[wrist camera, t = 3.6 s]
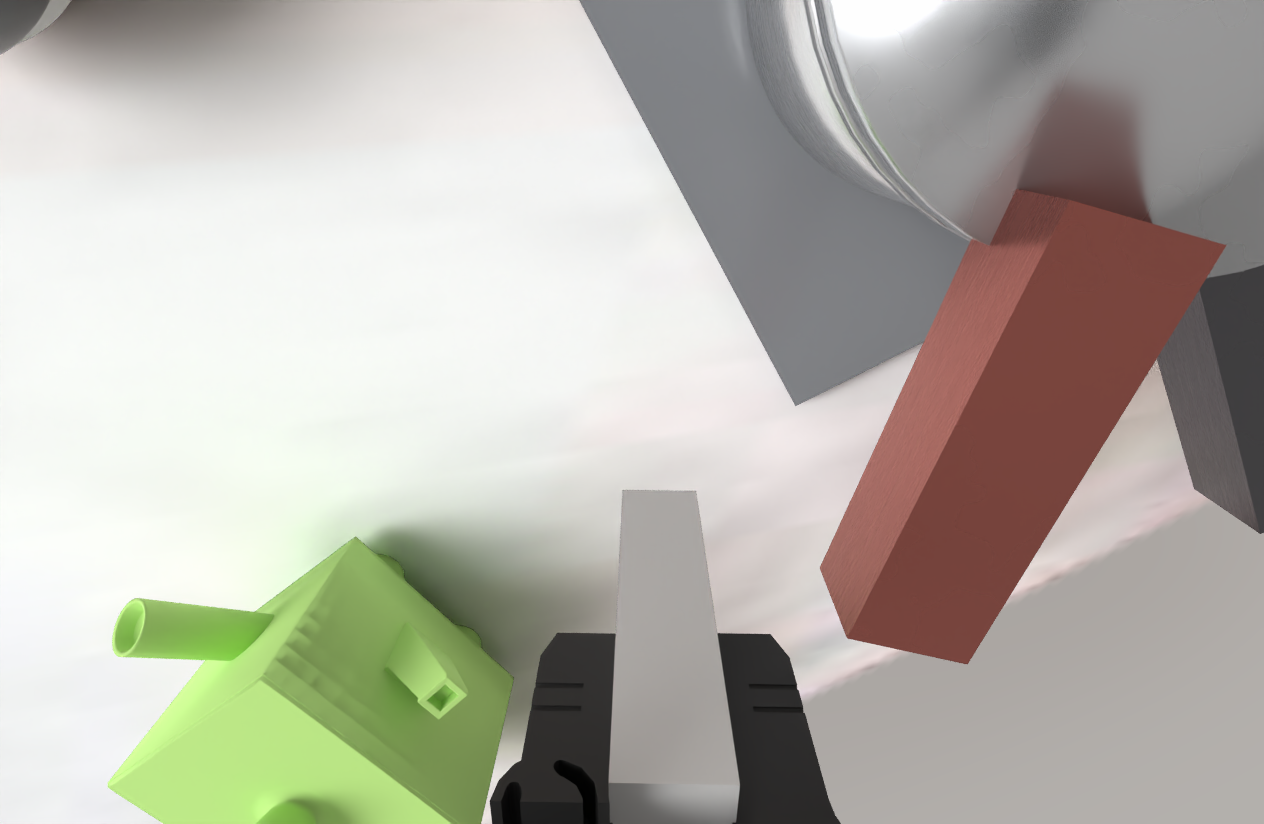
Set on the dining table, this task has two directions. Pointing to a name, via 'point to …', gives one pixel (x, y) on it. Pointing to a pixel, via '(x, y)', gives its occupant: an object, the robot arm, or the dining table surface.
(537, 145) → the dining table surface
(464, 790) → the kettle
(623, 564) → the robot arm
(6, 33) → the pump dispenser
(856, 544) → the lid
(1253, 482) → the pot
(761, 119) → the trivet
